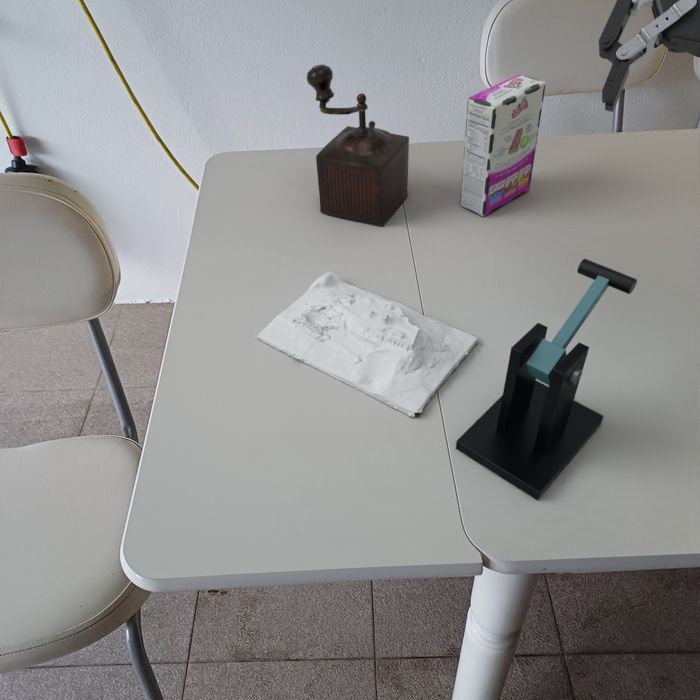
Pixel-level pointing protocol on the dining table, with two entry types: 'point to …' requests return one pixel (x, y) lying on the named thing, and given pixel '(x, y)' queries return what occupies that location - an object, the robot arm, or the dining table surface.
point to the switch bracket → (533, 421)
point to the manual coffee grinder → (359, 163)
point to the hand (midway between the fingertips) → (658, 120)
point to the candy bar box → (500, 143)
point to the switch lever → (576, 318)
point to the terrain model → (369, 342)
